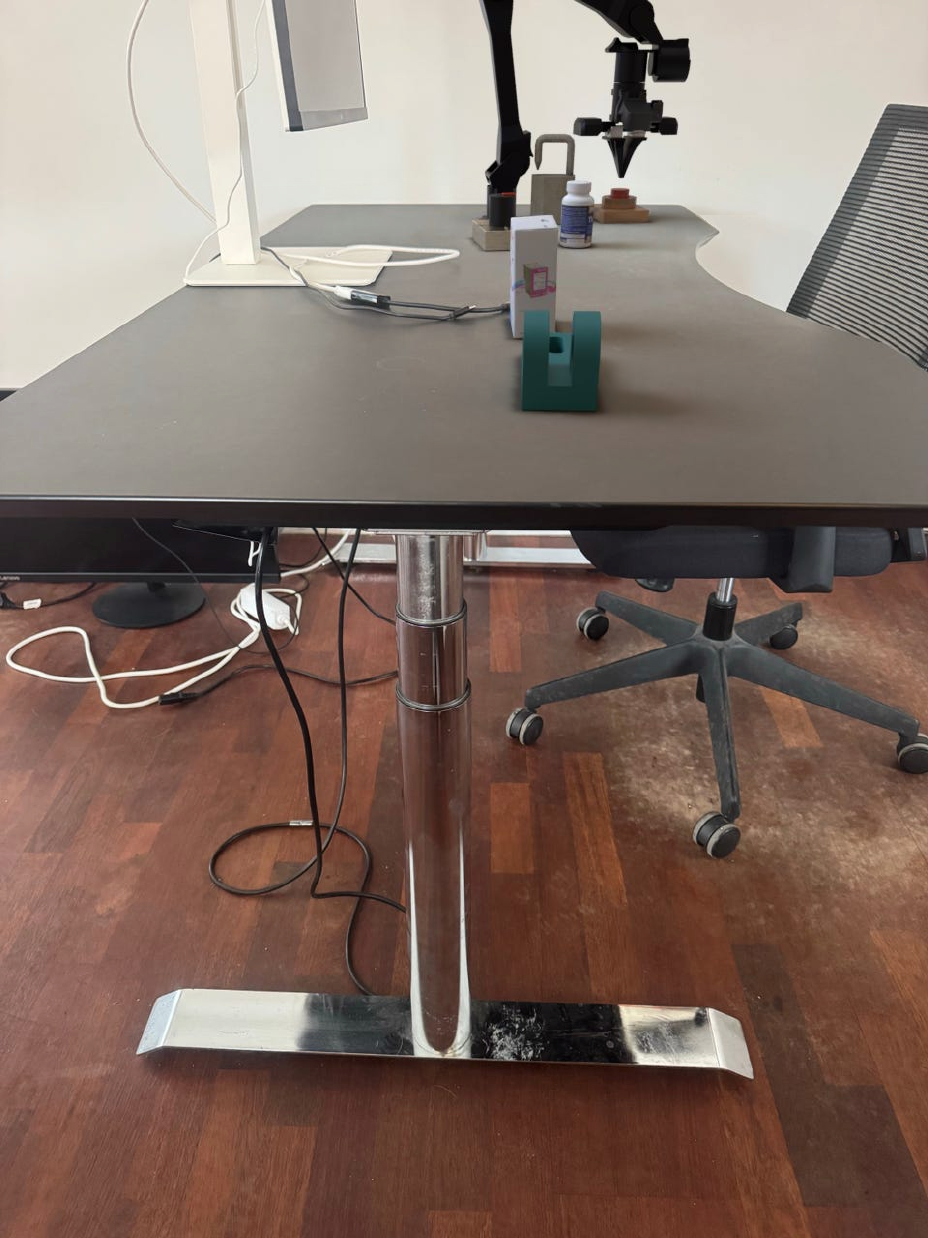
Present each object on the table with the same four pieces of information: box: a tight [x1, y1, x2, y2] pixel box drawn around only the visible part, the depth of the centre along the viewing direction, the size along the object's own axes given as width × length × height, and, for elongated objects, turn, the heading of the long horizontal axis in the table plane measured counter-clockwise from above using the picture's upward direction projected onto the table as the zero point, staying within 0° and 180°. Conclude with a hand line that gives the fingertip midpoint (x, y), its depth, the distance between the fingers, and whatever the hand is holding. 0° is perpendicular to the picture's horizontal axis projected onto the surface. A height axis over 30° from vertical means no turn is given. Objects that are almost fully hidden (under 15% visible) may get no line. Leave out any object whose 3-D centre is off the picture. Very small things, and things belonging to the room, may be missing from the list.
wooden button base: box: [593, 194, 650, 225], centre depth 170 cm, size 10×9×4 cm
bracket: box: [520, 310, 602, 412], centre depth 85 cm, size 18×7×8 cm, turn 177°
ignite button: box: [609, 187, 631, 198], centre depth 169 cm, size 4×4×2 cm
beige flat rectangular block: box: [471, 219, 511, 252], centre depth 149 cm, size 12×10×3 cm
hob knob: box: [489, 193, 515, 227], centre depth 146 cm, size 4×4×5 cm
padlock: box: [529, 133, 576, 225], centre depth 164 cm, size 4×8×15 cm, turn 85°
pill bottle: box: [559, 180, 595, 249], centre depth 145 cm, size 5×5×10 cm
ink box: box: [509, 215, 559, 339], centre depth 100 cm, size 9×5×12 cm, turn 1°
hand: (621, 177), depth 168 cm, fingers closed
